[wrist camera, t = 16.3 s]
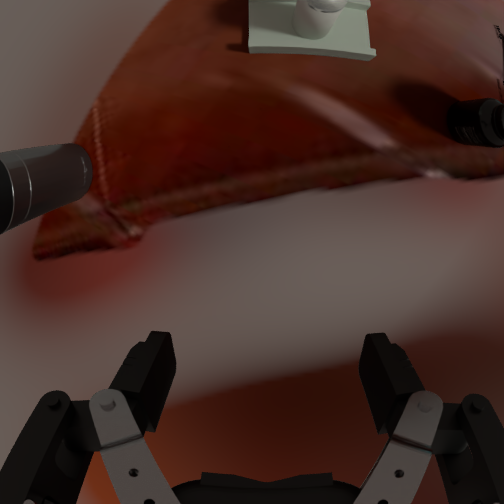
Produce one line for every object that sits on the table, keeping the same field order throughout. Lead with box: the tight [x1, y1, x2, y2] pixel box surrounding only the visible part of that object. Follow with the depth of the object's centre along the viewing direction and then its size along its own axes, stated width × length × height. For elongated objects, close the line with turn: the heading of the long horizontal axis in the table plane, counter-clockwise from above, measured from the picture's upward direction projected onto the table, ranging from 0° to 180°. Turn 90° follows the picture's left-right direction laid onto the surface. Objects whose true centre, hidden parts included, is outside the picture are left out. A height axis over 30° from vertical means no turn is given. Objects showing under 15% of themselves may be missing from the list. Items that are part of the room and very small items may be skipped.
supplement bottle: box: [447, 98, 504, 148], centre depth 28 cm, size 7×7×12 cm
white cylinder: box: [292, 0, 348, 40], centre depth 25 cm, size 5×5×10 cm
